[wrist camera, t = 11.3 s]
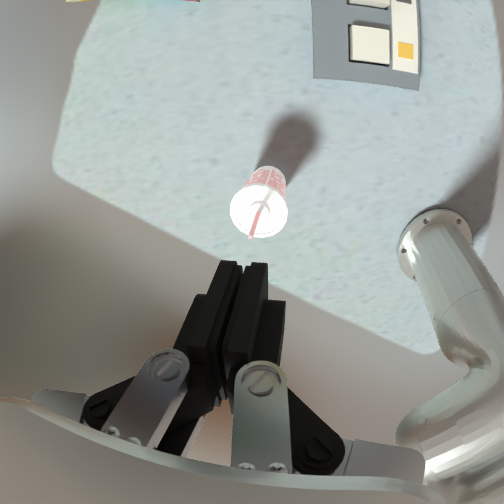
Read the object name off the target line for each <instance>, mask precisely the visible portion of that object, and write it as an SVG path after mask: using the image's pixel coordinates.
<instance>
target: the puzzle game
mask: <svg viewBox="0 0 504 504" xmlns="http://www.w3.org/2000/svg"><path fill="white" fill-rule="evenodd" d="M77 1H87V0H66V2H77ZM186 1H196V2H200V0H186Z"/></svg>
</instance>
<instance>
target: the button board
mask: <svg viewBox="0 0 504 504" xmlns="http://www.w3.org/2000/svg"><path fill="white" fill-rule="evenodd" d="M311 5H312V28H313V69H314V78H317V79H333V80H346V81H356V82H365V83H373V84H381V85H387V86H394V87H400V88H406V89H411V90H417V91H419V83H420V22H419V5H418V0H390V5H389V6H387V7H386V8H384V9H379V8H373V7H366V6H358V5H350V4H348V0H311ZM351 25H358V26H366V27H373V28H380V29H386V30H389V51H390V59H389V64H376V63H369V62H361V61H351V60H349V38H348V28H349V27H350V26H351Z"/></svg>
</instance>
